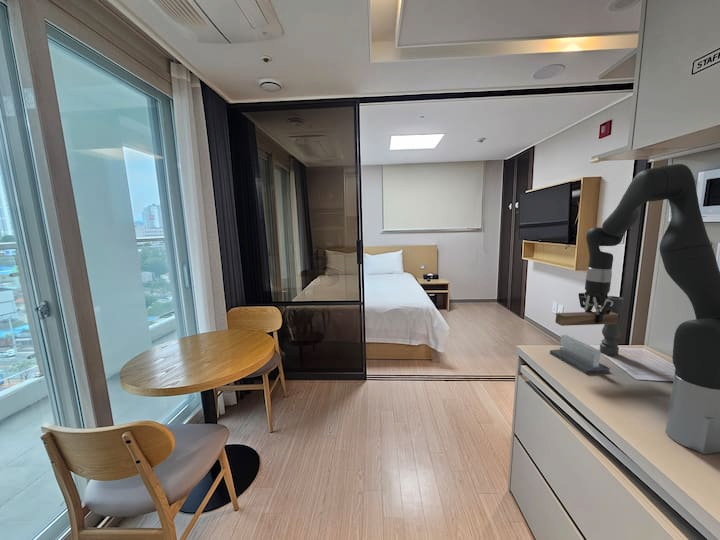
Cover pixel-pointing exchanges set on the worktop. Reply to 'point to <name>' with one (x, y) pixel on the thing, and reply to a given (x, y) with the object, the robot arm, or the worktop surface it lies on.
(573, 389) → the worktop surface
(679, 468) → the worktop surface
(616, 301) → the candle holder
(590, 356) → the stand
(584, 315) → the walnut beam
